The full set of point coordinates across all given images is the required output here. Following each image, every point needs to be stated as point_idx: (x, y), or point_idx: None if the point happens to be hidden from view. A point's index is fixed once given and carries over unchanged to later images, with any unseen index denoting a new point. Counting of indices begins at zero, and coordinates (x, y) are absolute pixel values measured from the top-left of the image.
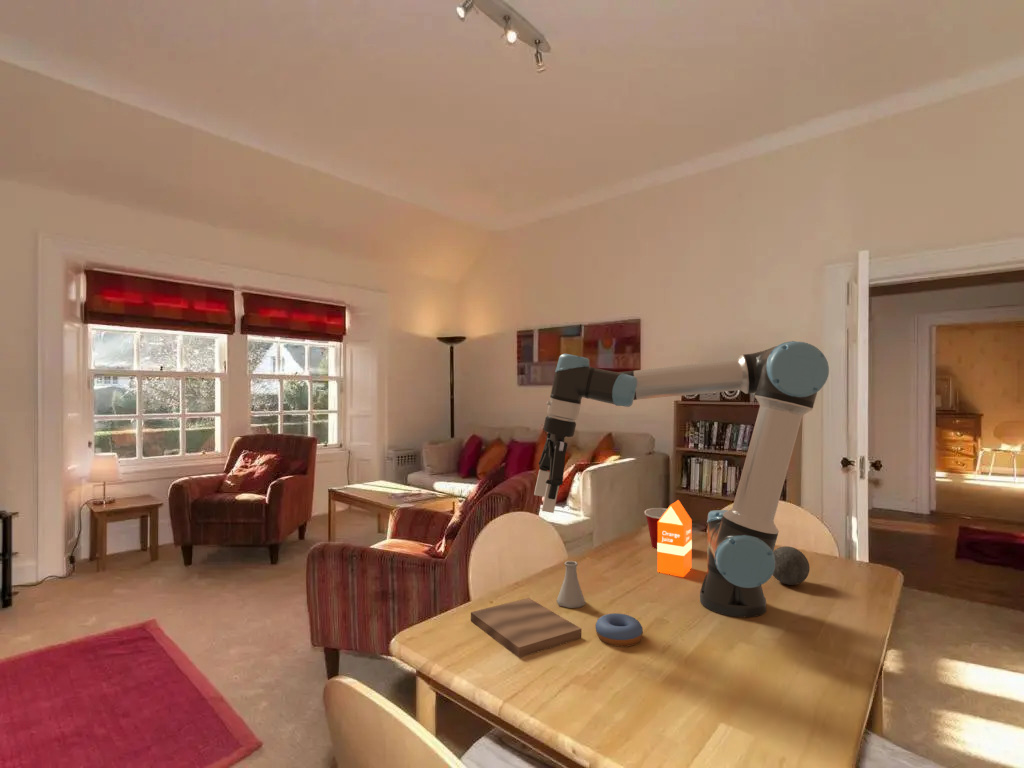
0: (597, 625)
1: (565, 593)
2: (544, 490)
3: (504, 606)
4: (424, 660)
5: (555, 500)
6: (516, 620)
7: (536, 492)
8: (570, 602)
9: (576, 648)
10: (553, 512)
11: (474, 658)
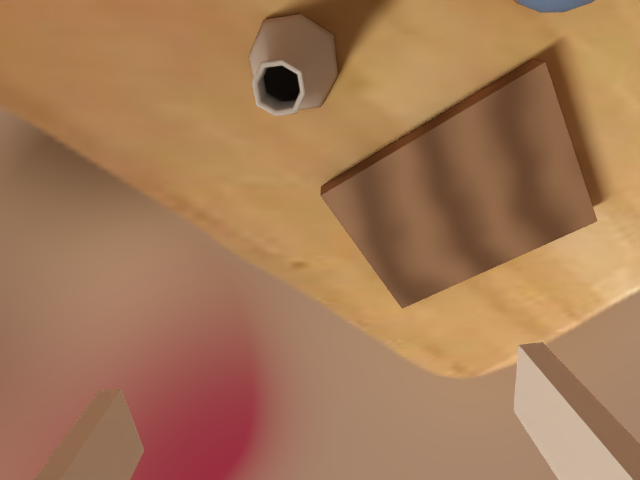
0: (568, 8)
1: (317, 93)
2: (98, 440)
3: (375, 249)
4: None
5: (608, 419)
6: (459, 224)
7: (129, 460)
8: (333, 73)
9: (585, 79)
10: (544, 345)
11: (559, 282)
